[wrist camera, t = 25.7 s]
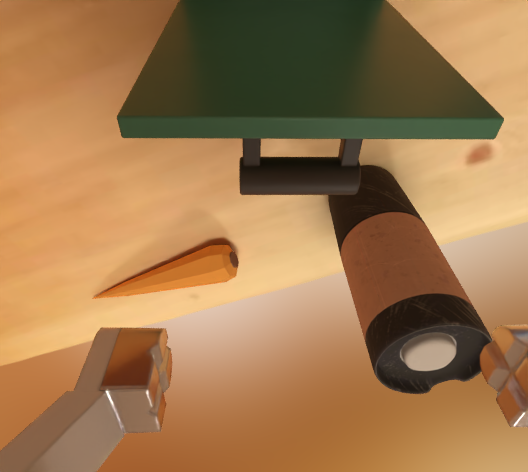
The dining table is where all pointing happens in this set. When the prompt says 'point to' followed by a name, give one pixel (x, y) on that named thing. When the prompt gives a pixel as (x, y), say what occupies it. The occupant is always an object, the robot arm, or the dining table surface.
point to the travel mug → (404, 289)
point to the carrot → (183, 273)
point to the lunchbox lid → (300, 86)
